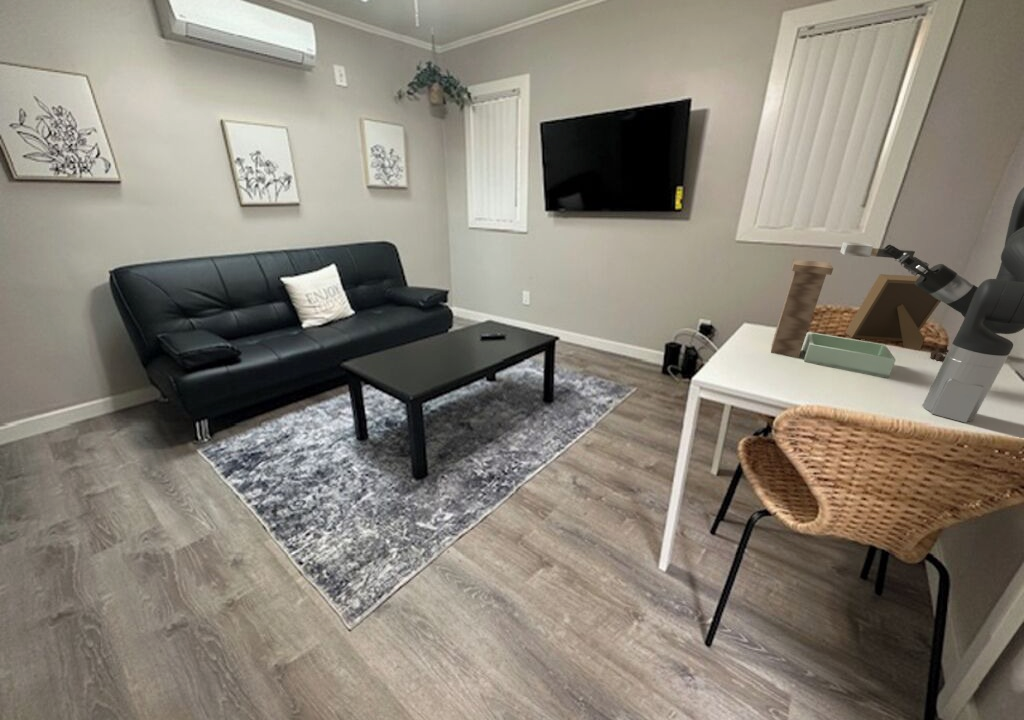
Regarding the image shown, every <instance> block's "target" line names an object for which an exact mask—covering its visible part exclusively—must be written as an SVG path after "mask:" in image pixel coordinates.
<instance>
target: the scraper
mask: <svg viewBox="0 0 1024 720" xmlns="http://www.w3.org/2000/svg"><path fill="white" fill-rule="evenodd" d="M885 250H886V249H884V248H882V247H874V246H873V245H871V244H869V243H861V242H850V241H849V242H848V241H843V242H842V245H841V249H840V252H839V253H840V254H842V255H843V256H851V257H852V256H853V257H865V258H870V257H876V258H877V257H879V258H891V259H894V257H892V256H891V255H889V254H887V253H886V252H885ZM899 250H900V251H902V252H904V253H907V254H908V255H911V257H913V256H914V257H915V252H916V251H914V250H909V249H907V250H906V249H899ZM904 253H903V254H904Z"/></svg>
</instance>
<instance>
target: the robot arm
mask: <svg viewBox="0 0 1024 720" xmlns="http://www.w3.org/2000/svg"><path fill="white" fill-rule="evenodd" d="M1004 240H1005V242H1004V246H1003V249H1002V252H1001V254H1000V261H1001V263H1000V267H999V270H998V272H997V275H996V277H995V278H988V279H986V280H984V281H982V282H981V283H980V284H979V286H976V285H975V284H973V283H972V282H971V281H969V279H967V278H966V277H964V276H963V275H961V274H960V273H958V272H957V271H955V270H953V269H952V268H950V267H948V266H947V265H946V264H943V263H937V264H936V265H933V266H932V267H931V268H930V267H929V266H930V264H929V263H928V262H926V261H924V260H921V259H919V258H918V257H916V256H915V255H914V256H913V257H911V255H908V254H907V253H904V252H902V251H900V250H901V249H899V248H898V247H895V245H892V244H887V245H885V247H884V248H883V249H886V250H885V252H886V253H887V254H889V255H891V256H892V257H894V258H893V260H894V261H896V262H898V263H899V266H901V267H903V268H904V269H905V270H907V272H908V273H910V274H911V275H912V276H920V277H919V278H918V279H917V280H916V281H915V285H916V286H918V287H919V288H921V289H922V290H924V291H925V292H927V293H928V294H930V295H931V296H933V297H934V298H936V299H938V300H940V301H941V302H942V303H944V304H945V305H947V306H949V307H950V308H952V309H953V310H955V311H957V312H958V313H960V315H962V317H963V318H964V319H963V321H962V323H961V325H960V327H959V329H958V331H957V333H956V335H955V337H954V339H953V341H952V343H951V345H950V346H949V347H950V348H949V349H948V350H949V351H948V353H946V355H945V356H946V357H945V359H944V361H942V363H941V365H940V368H939V369H938V372H937V374H936V376H935V378H934V380H933V382H932V385H931V387H930V388H929V390H928V392H927V395H926V397H925V399H924V401H923V403H922V407H923V408H924V410H927V411H928V412H930V414H932V415H936V416H939V417H943V418H947V419H950V420H955V421H958V422H962V423H965V424H966V423H967V422H971V421H974V419H975V418H976V415H977V414H978V412H979V410H980V409H981V407H982V405H983V402H984V401H985V399H986V397H987V395H989V394H988V393H989V392H990V390H991V388H992V386H993V384H994V383H995V381H996V379H997V377H998V376H999V374H1000V371H1001V370H1002V368H1003V366H1004V364H1005V363H1006V361H1007V359H1008V358H1009V355H1010V354H1011V352H1012V350H1013V347H1014V343H1013V342H1012V341H1011V340H1010V339H1008V338H1006V337H1004V336H1001V335H1013V334H1016V333H1019V332H1021V331H1022V330H1024V186H1023V187H1022V188H1021V189H1020V191H1019V192H1018V193H1017V196H1016V197H1015V201H1014V204H1013V206H1012V209H1011V214H1010V218H1009V222H1008V227H1007V231H1006V236H1005V239H1004ZM903 253H904V254H903ZM1000 334H1001V335H1000Z"/></svg>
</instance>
